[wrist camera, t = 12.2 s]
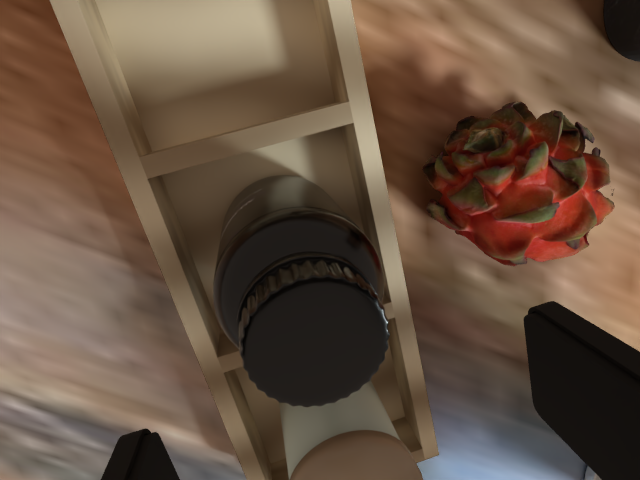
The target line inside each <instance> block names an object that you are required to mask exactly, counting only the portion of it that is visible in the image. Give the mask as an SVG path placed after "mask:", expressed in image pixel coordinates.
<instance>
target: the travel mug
mask: <svg viewBox="0 0 640 480" xmlns="http://www.w3.org/2000/svg"><path fill="white" fill-rule="evenodd" d="M604 22H605V28H606V31H607V35H608V37H609V39H610V41H611V43H612V45H613V46H614V48H615V49H616V50H617V51H618V52H619V53H620V54H622V55H623V56H625V57H626V58H628V59H631V60H634V61H639V62H640V0H605V1H604Z"/></svg>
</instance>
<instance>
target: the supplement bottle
mask: <svg viewBox="0 0 640 480" xmlns="http://www.w3.org/2000/svg"><path fill="white" fill-rule="evenodd" d="M383 295H384V275H383V269H382V265H381V261H380V259H379V256H378V254H377V252H376V250H375V248H374V246H373V245H372V243H371V242H370V240H369V239H368V237H367V236H366V235H365V234H364V233H363V231H362V230H361V229H360V228H359V227H358V226H357V225H356V224H355V223H354V222H353V220H352V219H351V218H350V217H349V216H348V215H347V214H346V213H345V212H344V211H343V210H342V209H341V207H340V206H339V205H338V204H337V203H336V202H335V201H334V200H333V199H332V198H331V197H330V196H329V195H328V194H327V193H326V192H325V191H324V190H323V189H322V188H320V187H319V186H318V185H316V184H314V183H313V182H311V181H309V180H306V179H304V178H301V177H297V176H291V175H276V176H270V177H266V178H263V179H260V180H258V181H256V182H254V183H252V184H250V185H249V186H247V187H246V188H245V189H243V190H242V191H241V192H240V193H239V194H238V195H237V196H236V198H235V199H234V200H233V201H232V203H231V205H230V206H229V208H228V210H227V212H226V215H225V218H224V222H223V226H222V231H221V237H220V243H219V249H218V256H217V262H216V268H215V274H214V282H213V301H214V308H215V312H216V315H217V319H218V321H219V323H220V325H221V328H222V329H223V331H224V333H225V334H226V336H227V337H228V338H229V340H230V341H231V342H232V343H233V344H234V345H235V346H236V347H237V348H238V349H239V353H240V356H241V358H242V365H243V368H244V369H245V370H246V371H247V372H248V377H249V379H250V380H251V381H252V382H254V383H255V384H256V387H257V389H258V390H260V391H263V392H265V394H266V395H267V396H268V397H269V398H274V399H276V400H277V401H278V402H280V403H288V404H289V405H291V406H303V407H311V406H323V405H325V404H327V403H335V402H337V401H338V400H340V399H344V398H347V397H349V396H350V394H352V393H353V392H356V391H358V390H360V388H361V387H362V386H363V385H364V384H366V383H367V382H369V381H370V379H371V377H372V375H374V374H375V373H376V372H377V371H378V369H379V365H380V364H381V363H382V362H383V361H384V360H385V352H386V351H387V349H388V347H389V345H388V339H389V336H390V332H389V330H388V324H389V321H388V318H387V316H386V315H385V309H384V306H383V305H382V301H383Z"/></svg>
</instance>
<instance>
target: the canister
mask: <svg viewBox="0 0 640 480" xmlns="http://www.w3.org/2000/svg"><path fill="white" fill-rule="evenodd" d="M279 408H280V415H281V423H282V430H283V438H284V445H285V453H286V460H287V468H288V475H289V480H423V478H422V474H421V472H420V470H419V468H418V466H417V464H416V462H415V460H414V458H413V456H412V454H411V452H410V450H409V449H408V448H407V447H406V445H405V444H404V443H402V442H401V441H400V439H399V437H398V435H397V433H396V431H395V429H394V426H393V424H392V422H391V420H390V418H389V416H388V414H387V412H386V410H385V408H384V406H383V404H382V402H381V400H380V398H379V396H378V394H377V392H376V390H375V388H374V386H373V383H372V381H371V379H370V381H369V382H367V383H366V384H364V385H363V386H362V387H361V388H360V390H358V391H356V392H353V393H352V394H350V396H349V397H347V398H344V399H340V400H338V401H337V402H335V403H327V404H325V405H323V406H311V407H303V406H291V405H289V404H288V403H280V402H279Z"/></svg>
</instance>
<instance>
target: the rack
mask: <svg viewBox="0 0 640 480" xmlns="http://www.w3.org/2000/svg"><path fill="white" fill-rule="evenodd" d="M50 2H51V5H52V7H53V10H54V12H55V14H56V17H57V19H58V22H59V24H60V27H61V29H62V32H63V34H64V36H65V39H66V41H67V44H68V46H69V49H70V51H71V53H72V56H73V58H74V61H75V63H76V66H77V68H78V70H79V73H80V75H81V78H82V80H83V83H84V85H85V87H86V90H87V92H88V95H89V97H90V100H91V102H92V104H93V107H94V109H95V112H96V114H97V117H98V119H99V121H100V124H101V126H102V129H103V131H104V134H105V136H106V138H107V141H108V143H109V146H110V148H111V151H112V153H113V155H114V158H115V160H116V163H117V165H118V168H119V170H120V172H121V175H122V177H123V180H124V182H125V185H126V187H127V189H128V192H129V194H130V197H131V199H132V202H133V204H134V206H135V209H136V211H137V214H138V216H139V219H140V221H141V223H142V226H143V228H144V231H145V233H146V236H147V238H148V240H149V243H150V245H151V248H152V250H153V253H154V255H155V257H156V260H157V262H158V265H159V267H160V270H161V272H162V274H163V277H164V279H165V282H166V284H167V287H168V289H169V291H170V294H171V296H172V299H173V301H174V304H175V306H176V308H177V311H178V313H179V316H180V318H181V321H182V323H183V325H184V328H185V330H186V333H187V335H188V338H189V340H190V342H191V345H192V347H193V350H194V352H195V355H196V357H197V359H198V362H199V364H200V367H201V369H202V372H203V374H204V376H205V379H206V381H207V384H208V386H209V389H210V391H211V393H212V396H213V398H214V401H215V403H216V406H217V408H218V411H219V413H220V415H221V418H222V420H223V423H224V425H225V428H226V430H227V432H228V435H229V437H230V440H231V442H232V445H233V447H234V449H235V452H236V454H237V457H238V459H239V462H240V464H241V466H242V469H243V471H244V474H245V476H246V479H247V480H289V475H288V468H287V460H286V453H285V445H284V438H283V430H282V423H281V415H280V408H279V402H278V401H277V400H276V399H274V398H269V397H268V396H267V395H266V394H265V392H263V391H260V390H258V389H257V387H256V384H255V383H254V382H252V381H251V380H250V379H249V377H248V372H247V371H246V370H245V369H244V368H243V365H242V358H241V356H240V353H239V349H238V348H237V347H236V346H235V345H234V344H233V343H232V342H231V341H230V340H229V338H228V337H227V336H226V334H225V333H224V331H223V329H222V328H221V325H220V323H219V321H218V319H217V315H216V312H215V308H214V301H213V282H214V274H215V268H216V262H217V256H218V249H219V243H220V237H221V231H222V226H223V222H224V218H225V215H226V212H227V210H228V208H229V206H230V205H231V203H232V201H233V200H234V199H235V198H236V196H237V195H238V194H239V193H240V192H241V191H242V190H243V189H245V188H246V187H247V186H249V185H250V184H252V183H254V182H256V181H258V180H260V179H263V178H266V177H270V176H276V175H291V176H297V177H301V178H304V179H306V180H309V181H311V182H313V183H314V184H316V185H318V186H319V187H320V188H322V189H323V190H324V191H325V192H326V193H327V194H328V195H329V196H330V197H331V198H332V199H333V200H334V201H335V202H336V203H337V204H338V205H339V206H340V207H341V209H342V210H343V211H344V212H345V213H346V214H347V215H348V216H349V217H350V218H351V219H352V220H353V222H354V223H355V224H356V225H357V226H358V227H359V228H360V229H361V230H362V231H363V233H364V234H365V235H366V236H367V237H368V239H369V240H370V242H371V243H372V245H373V246H374V248H375V250H376V252H377V254H378V256H379V259H380V261H381V265H382V269H383V275H384V295H383V301H382V305H383V306H384V309H385V315H386V316H387V318H388V321H389V324H388V330H389V332H390V336H389V339H388V345H389V347H388V349H387V351H386V352H385V360H384V361H383V362H382V363H381V364H380V365H379V369H378V371H377V372H376V373H375V374H374V375H372V377H371V381H372V383H373V386H374V388H375V390H376V392H377V394H378V396H379V398H380V400H381V402H382V404H383V406H384V408H385V410H386V412H387V414H388V416H389V418H390V420H391V422H392V424H393V426H394V429H395V431H396V433H397V435H398V437H399V439H400V441H401V442H402V443H404V444H405V445H406V447H407V448H408V449H409V450H410V452H411V454H412V456H413V458H414V460H415V462H416V463H418V462H421V461H424V460H426V459H429V458H432V457H435V456H437V455H439V452H438V447H437V442H436V437H435V432H434V426H433V421H432V416H431V411H430V406H429V401H428V396H427V390H426V385H425V380H424V375H423V370H422V365H421V360H420V355H419V349H418V344H417V339H416V334H415V329H414V324H413V319H412V314H411V308H410V303H409V298H408V293H407V288H406V283H405V278H404V272H403V267H402V262H401V257H400V252H399V247H398V242H397V237H396V231H395V226H394V221H393V216H392V211H391V206H390V201H389V196H388V190H387V185H386V180H385V175H384V170H383V165H382V160H381V154H380V149H379V144H378V139H377V134H376V129H375V124H374V119H373V113H372V108H371V103H370V98H369V93H368V88H367V83H366V78H365V72H364V67H363V62H362V57H361V52H360V47H359V42H358V36H357V31H356V26H355V21H354V16H353V11H352V6H351V1H350V0H50Z"/></svg>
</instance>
